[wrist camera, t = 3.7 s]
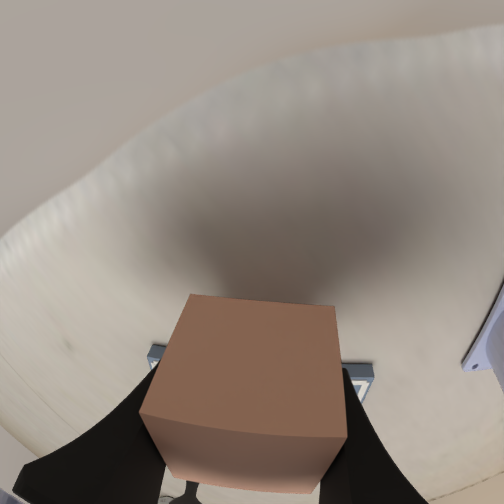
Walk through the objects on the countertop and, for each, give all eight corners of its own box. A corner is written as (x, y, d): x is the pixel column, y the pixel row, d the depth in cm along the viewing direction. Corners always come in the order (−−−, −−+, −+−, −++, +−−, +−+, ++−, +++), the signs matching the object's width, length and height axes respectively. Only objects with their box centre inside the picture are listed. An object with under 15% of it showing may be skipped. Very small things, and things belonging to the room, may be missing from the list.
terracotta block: (334, 306, 10) (347, 436, 6) (312, 391, 13) (311, 493, 9) (190, 293, 11) (139, 412, 7) (202, 380, 13) (173, 477, 9)
